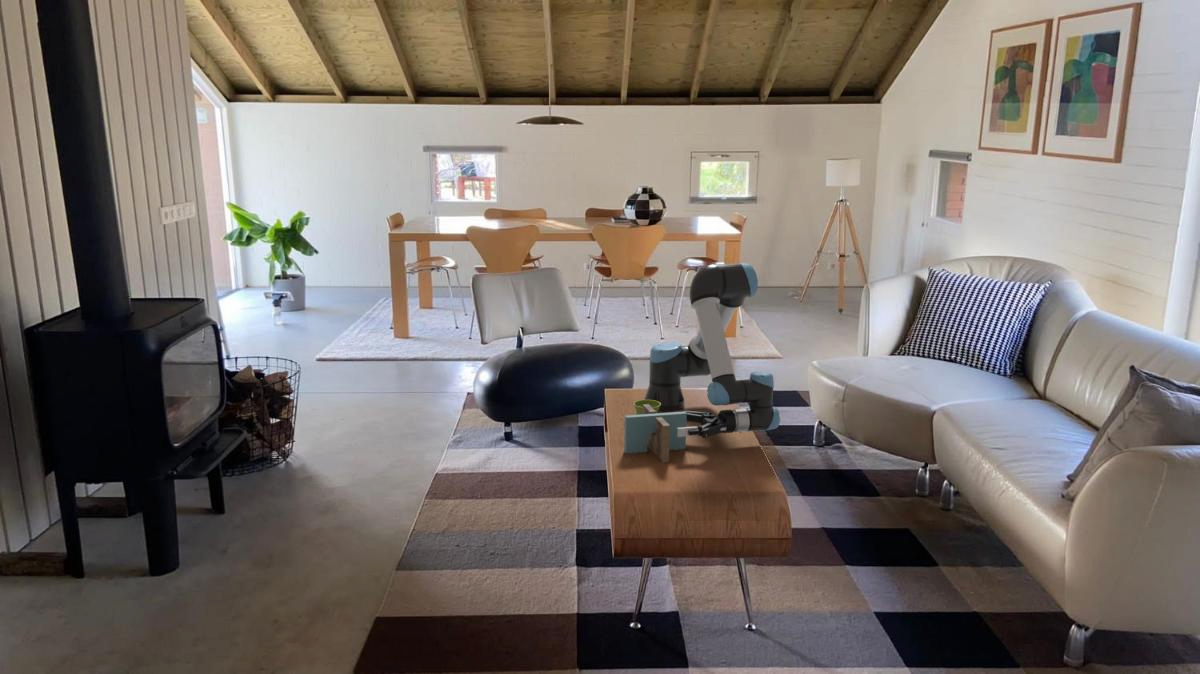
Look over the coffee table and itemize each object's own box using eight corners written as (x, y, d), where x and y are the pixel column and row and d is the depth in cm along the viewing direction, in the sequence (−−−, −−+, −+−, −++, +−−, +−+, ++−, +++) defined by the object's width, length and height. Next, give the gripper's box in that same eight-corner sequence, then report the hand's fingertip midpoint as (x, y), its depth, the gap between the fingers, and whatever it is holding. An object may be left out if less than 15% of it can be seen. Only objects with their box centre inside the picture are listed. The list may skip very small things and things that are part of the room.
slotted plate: (624, 451, 269) (624, 415, 266) (683, 446, 274) (684, 411, 271) (626, 453, 267) (626, 417, 264) (685, 448, 272) (686, 413, 269)
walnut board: (642, 438, 280) (642, 404, 278) (647, 438, 281) (648, 404, 278) (662, 462, 260) (663, 425, 257) (668, 462, 260) (669, 425, 257)
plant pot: (640, 433, 286) (641, 408, 284) (628, 424, 294) (629, 401, 292) (665, 429, 290) (665, 405, 288) (652, 421, 298) (652, 398, 296)
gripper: (747, 444, 263) (683, 450, 258) (718, 419, 287) (658, 424, 282) (748, 422, 262) (683, 426, 257) (719, 398, 285) (659, 402, 280)
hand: (670, 425), depth 269 cm, fingers open, 13 cm apart
